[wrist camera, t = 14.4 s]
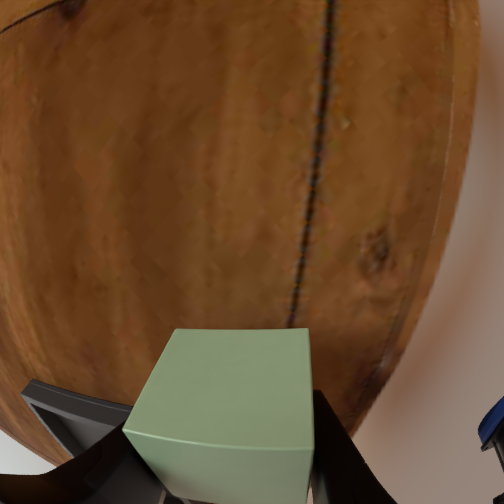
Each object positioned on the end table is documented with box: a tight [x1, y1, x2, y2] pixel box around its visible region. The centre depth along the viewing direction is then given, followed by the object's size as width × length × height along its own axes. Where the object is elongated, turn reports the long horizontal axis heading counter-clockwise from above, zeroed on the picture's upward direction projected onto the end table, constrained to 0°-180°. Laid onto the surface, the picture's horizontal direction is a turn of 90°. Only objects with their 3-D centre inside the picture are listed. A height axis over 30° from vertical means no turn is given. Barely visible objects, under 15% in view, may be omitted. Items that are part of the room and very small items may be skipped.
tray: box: [21, 379, 207, 504], centre depth 19 cm, size 18×12×2 cm, turn 6°
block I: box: [123, 328, 314, 504], centre depth 8 cm, size 4×4×4 cm
